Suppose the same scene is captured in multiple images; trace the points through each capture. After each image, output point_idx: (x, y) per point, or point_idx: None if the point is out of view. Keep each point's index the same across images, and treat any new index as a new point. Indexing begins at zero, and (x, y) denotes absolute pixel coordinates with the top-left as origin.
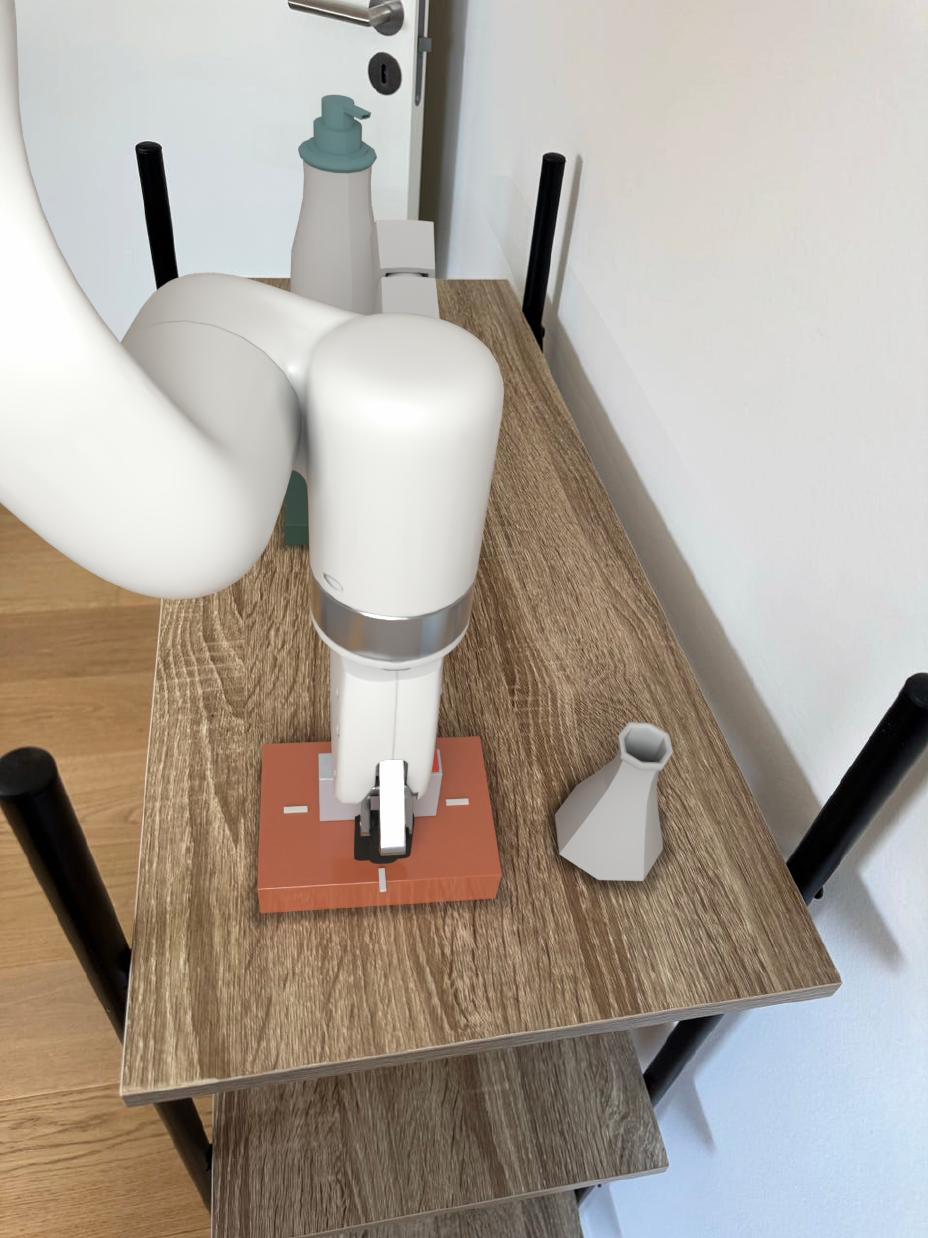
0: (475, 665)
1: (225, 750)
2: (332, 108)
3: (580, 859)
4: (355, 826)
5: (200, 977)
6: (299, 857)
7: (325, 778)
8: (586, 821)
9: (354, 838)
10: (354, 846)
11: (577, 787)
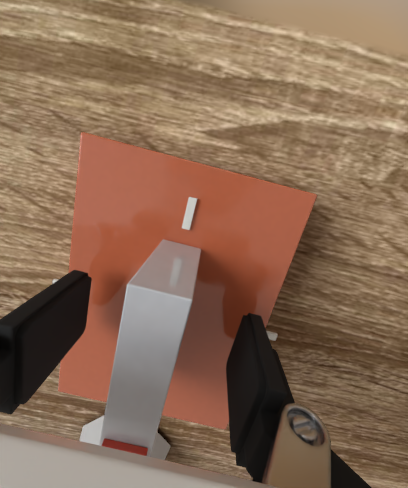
0: (333, 424)
1: (345, 147)
2: None
3: (96, 427)
4: (3, 318)
5: (50, 54)
6: (118, 200)
7: (126, 296)
8: None
9: (50, 291)
10: (53, 284)
11: (159, 456)
